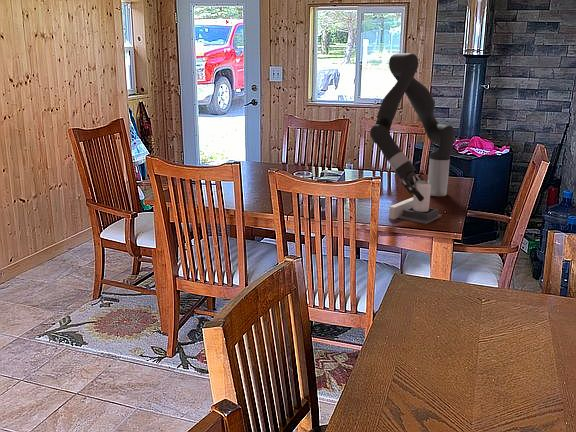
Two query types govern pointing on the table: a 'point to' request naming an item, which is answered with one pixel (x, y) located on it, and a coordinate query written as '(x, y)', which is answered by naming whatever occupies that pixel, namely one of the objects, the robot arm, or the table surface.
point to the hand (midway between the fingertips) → (425, 198)
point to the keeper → (420, 215)
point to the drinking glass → (321, 198)
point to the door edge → (399, 208)
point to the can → (425, 191)
